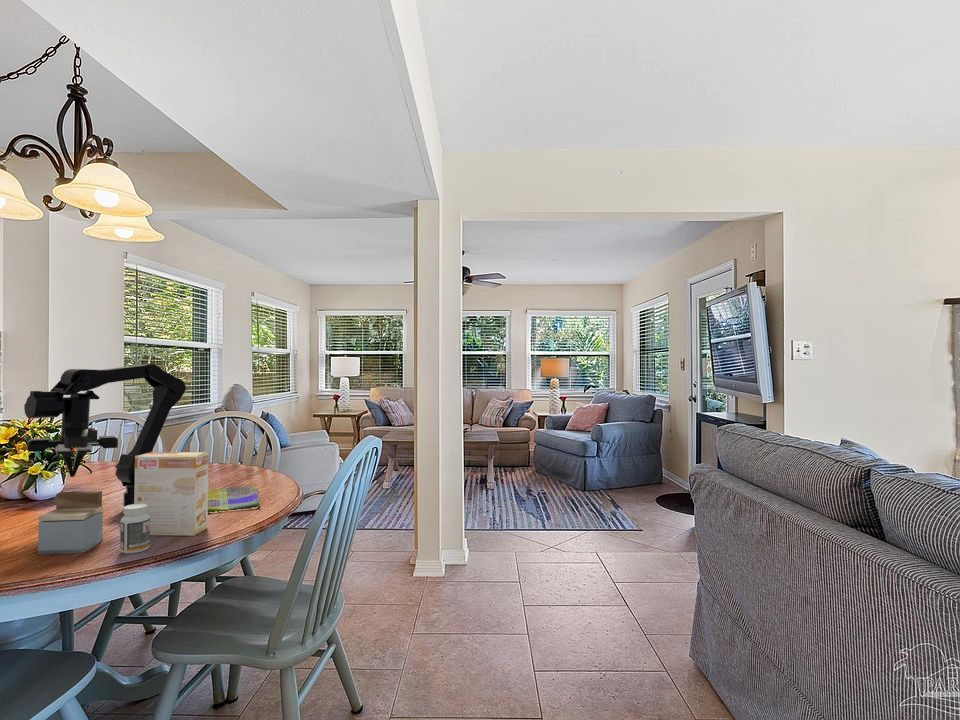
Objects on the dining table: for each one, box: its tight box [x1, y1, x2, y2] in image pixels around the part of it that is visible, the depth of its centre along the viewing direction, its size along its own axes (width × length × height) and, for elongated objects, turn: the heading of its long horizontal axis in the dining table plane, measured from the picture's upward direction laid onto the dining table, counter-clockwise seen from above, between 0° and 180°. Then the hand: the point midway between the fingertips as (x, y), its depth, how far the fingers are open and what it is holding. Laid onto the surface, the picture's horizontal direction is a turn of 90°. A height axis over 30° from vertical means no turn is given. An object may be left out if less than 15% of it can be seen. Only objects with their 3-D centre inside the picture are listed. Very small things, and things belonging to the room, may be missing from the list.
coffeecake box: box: [134, 451, 209, 537], centre depth 136 cm, size 15×7×20 cm, turn 90°
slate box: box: [37, 510, 104, 555], centre depth 123 cm, size 8×9×7 cm
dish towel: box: [208, 484, 261, 513], centre depth 165 cm, size 18×24×3 cm
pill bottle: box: [119, 504, 151, 555], centre depth 122 cm, size 6×6×10 cm
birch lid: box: [38, 490, 104, 522], centre depth 123 cm, size 8×9×4 cm
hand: (72, 476), depth 142 cm, fingers closed
